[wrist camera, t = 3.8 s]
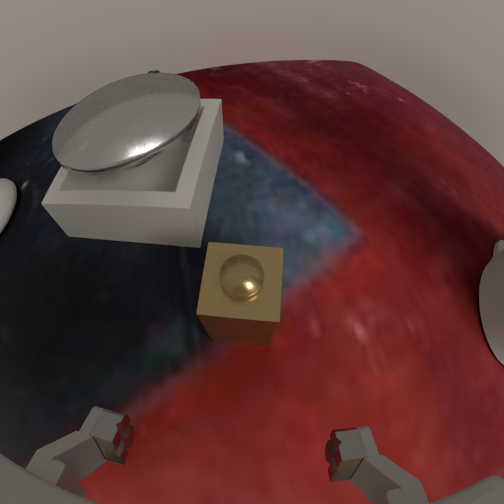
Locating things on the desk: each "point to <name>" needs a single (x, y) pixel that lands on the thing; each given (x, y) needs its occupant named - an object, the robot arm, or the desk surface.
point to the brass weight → (241, 293)
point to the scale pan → (126, 123)
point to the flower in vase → (6, 201)
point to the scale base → (146, 192)
